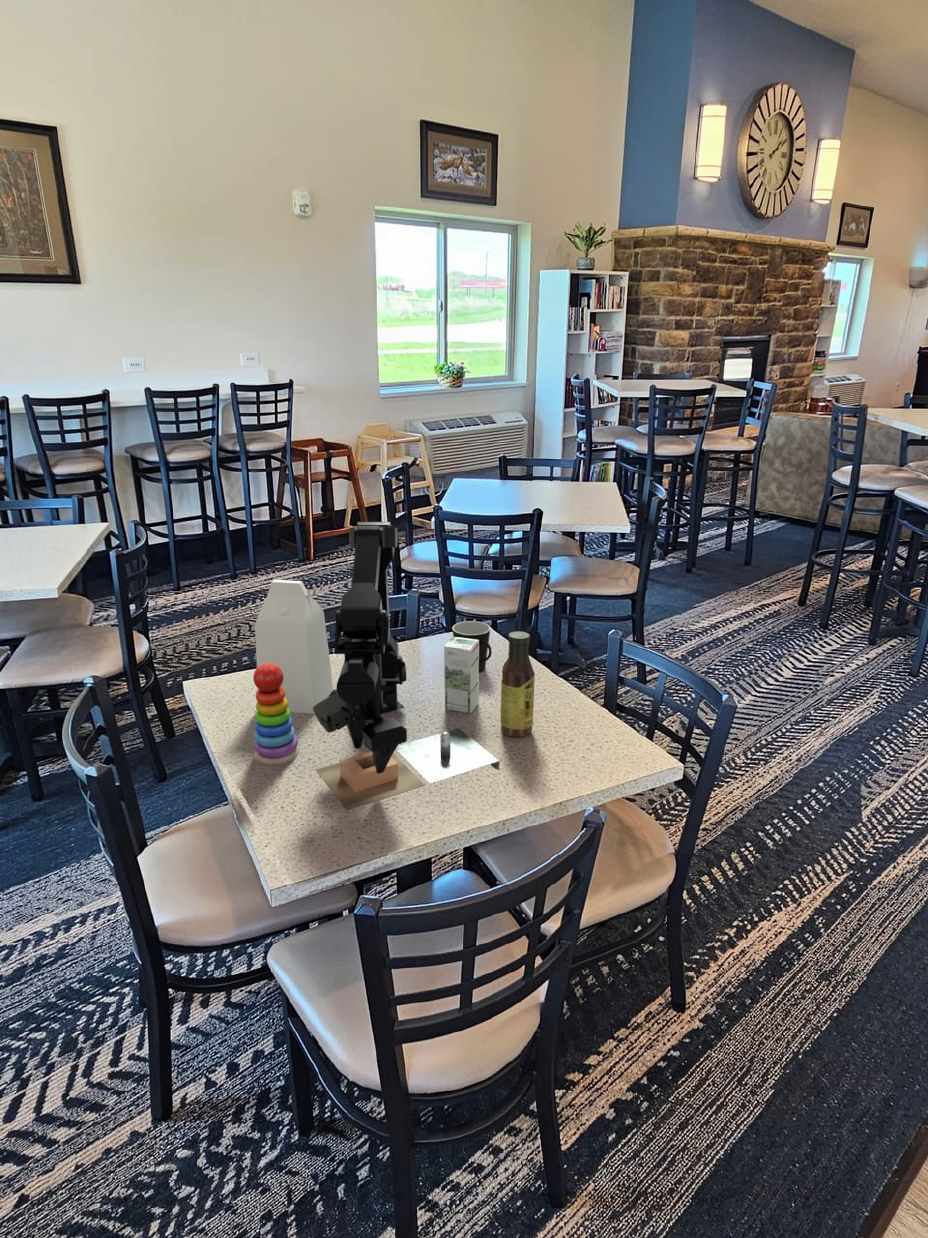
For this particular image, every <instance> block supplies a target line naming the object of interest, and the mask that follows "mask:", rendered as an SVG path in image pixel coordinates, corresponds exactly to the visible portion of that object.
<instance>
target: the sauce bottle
mask: <svg viewBox="0 0 928 1238" xmlns="http://www.w3.org/2000/svg"><path fill="white" fill-rule="evenodd" d="M507 637H508V638H507V639H508V640H507V641H508V653H507V654H508V658H507V659H506V661H504V664H503V666H502V669H501V674H502V675H501V683H500V685H501V687H500V688H501V689H500V691H501V693H500V694H501V695H500V724H501V725H500V729H501V731H502V733H503V734H505V735H506V736H509V737H515V738H521V737H522V738H523V737H525V736H528V735H529V734H530V733H531V732H532V730H533V724H534V706H535V705H534V704H535V703H534V701H535V700H534V699H535V670H534V669H533V666H532V662H531V660H530V653H529V649H530V642H531V635H530V634H529V633H528V632H525V631H512V632H509V633H508V636H507Z"/></svg>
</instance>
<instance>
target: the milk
mask: <svg viewBox="0 0 928 1238" xmlns="http://www.w3.org/2000/svg"><path fill="white" fill-rule="evenodd" d="M325 619H326V618H325V612H324V609H323V608H322V606H321V605H320V604H319V603H318V601H316V600H315V599H314V598H313V597H312V596H311V595H309V592H308V589H307V588H306V587H305V584H304V583H303V581H301V580H286V579H285V580H284V579H283V580H282V579H273V580H272V581H271V583H270V586H269V589H268V593H267V595H266V597H265V600H264V602H263V604H262V606H261V608H260V611H259V613H258V616H257V618H256V621H255V625H254V633H255V654H256V669H257V668H258V667H259V666H260V665H262V664H265V663H272V664H275V665H277V666H278V667H280V669H281V670H282V672H283V677H284V678H283V682H282V685H281V687H282V688H283V689H284V691H285V698H286V699H287V701H288V709H289V710H290V713H297V714H299V713H300V714H311V715H315V713H314V711H313V707H314V706H315V705H316V704H318V703H320V702H321V701H323V700H325V699H326V698H328V697H329V695H330V694H331V692H332V690H334V683H333V675H332V667H331V660H330V652H329V643H328V633H327V627H326V620H325Z"/></svg>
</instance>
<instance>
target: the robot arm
mask: <svg viewBox="0 0 928 1238" xmlns="http://www.w3.org/2000/svg"><path fill="white" fill-rule="evenodd" d="M356 525H357V526H356V527H349V534H348V535H349V539H348V540H349V548H354V557H353V558H354V560H353V567H352V577H351V586H350V588H349V589H348V591H346V592H345V593H344V594H343V595H342V597H341V602H340V607H339V609H338V610H336V614H335V627H334V628H335V630H334V631H335V632H334V648H333V649H334V655H343V656H344V661H343V665H342V667H341V669H340V673H339V676H338V679H337V683H336V689H333V691H332V692H331V693H330V694H329V696H328V697H327V698H326V699H325V700H323V701H321V702H320V703H318V704H316V705H315V706H314V707H313V711H314V713H315V714H314V715H315V717H316V719H317V720H318V722H319V725H321V727H322V728H323V729H324V730H325V731H326V733H333V732H335V731H339V730H342V728H345V727H347V732H348V735H349V737H350V740H351V742H352V746H353V748H354V749H355V750H358V749H360V748H361V747H362V745H363V744H364V746H365V747H366V748H367V749H368V750H369V751H372V754H373V759H374V764H375V768H376V772H377V773H378V774H379V773H383V772H384V770H385V768H386V766H387V764H388V762H389V760H390V758H391V756H392V754H393V753H394V752H395V751H396V748H397V746H399V745H402V744H405V743H407V741H408V729H407V728H406V727H405V726H404V725H402V724H401V723H400V722H399V721H398V720H397V719H395V718H394V717H388V718H384V717H382V716H381V715H383V714H386V713H390V712H395V711H397V710H401V709H405V707H404V705H403V704H402V703H401V702H399V700H398V685H403V683H404V682H406V681H407V667H406V666H407V665H406V662H405V661H404V659H403V655H400V651H399V649H400V648H399V644H398V642H397V641H396V640H395V639H394V637H393V636H392V634H391V625H390V603H389V601H390V600H389V580H388V577H389V575H388V567H389V566H390V564H391V562H392V561H393V560H394V559H393V558H394V556H395V548H398V543H399V542H398V541H399V538H398V536H399V535H398V528H397V527H394V525H392V524H391V521H357V523H356ZM342 637H343V638H344V640H351V641H342Z"/></svg>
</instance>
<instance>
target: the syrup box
mask: <svg viewBox="0 0 928 1238" xmlns="http://www.w3.org/2000/svg"><path fill="white" fill-rule="evenodd" d="M443 651H444V652H443V653H444V655H443V656H444V658H443V659H444V710H445V711H450V712H457V713H462V714H469V715H470V714H472V713H473V711H474V710H475V709H476V708H477V706H478V704H479V702H480V697H479V689H480V688H479V687H480V685H479V677H480V675H479V674H480V673H479V640H475V639H468V638H460V637H453V636H452V637H451V638H450V639H449V640H448V641H447V642H446V644H445V645H444V648H443Z"/></svg>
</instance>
